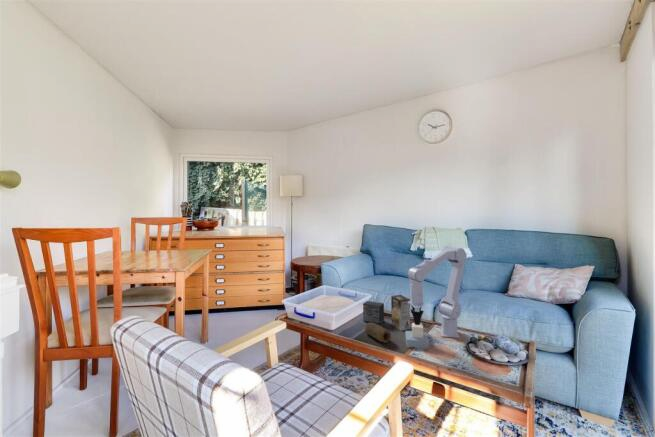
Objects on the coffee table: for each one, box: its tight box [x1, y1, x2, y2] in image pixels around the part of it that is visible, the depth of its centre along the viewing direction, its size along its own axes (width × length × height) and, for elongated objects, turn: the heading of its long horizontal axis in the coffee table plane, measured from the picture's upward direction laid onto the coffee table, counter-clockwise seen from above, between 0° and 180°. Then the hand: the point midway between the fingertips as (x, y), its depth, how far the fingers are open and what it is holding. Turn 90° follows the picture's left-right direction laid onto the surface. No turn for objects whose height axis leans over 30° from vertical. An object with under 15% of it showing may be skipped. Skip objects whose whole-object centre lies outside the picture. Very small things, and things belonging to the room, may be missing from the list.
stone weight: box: [364, 322, 392, 343], centre depth 152 cm, size 15×7×7 cm, turn 32°
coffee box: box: [390, 294, 411, 331], centre depth 164 cm, size 9×6×16 cm
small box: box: [362, 300, 385, 326], centre depth 173 cm, size 11×6×10 cm, turn 58°
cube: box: [411, 322, 424, 338], centre depth 145 cm, size 5×5×5 cm
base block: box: [404, 330, 430, 349], centre depth 145 cm, size 10×10×4 cm
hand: (417, 321), depth 145 cm, fingers open, 7 cm apart
